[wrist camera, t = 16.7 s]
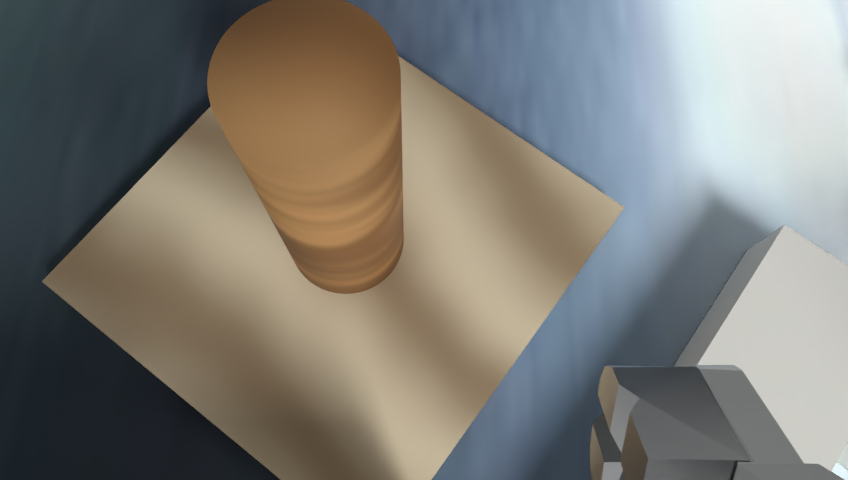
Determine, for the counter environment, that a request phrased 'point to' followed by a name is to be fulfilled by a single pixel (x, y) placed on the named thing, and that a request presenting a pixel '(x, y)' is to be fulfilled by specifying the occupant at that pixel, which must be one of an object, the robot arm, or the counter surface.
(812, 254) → the socket block
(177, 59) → the counter surface
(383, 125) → the plug
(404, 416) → the board
